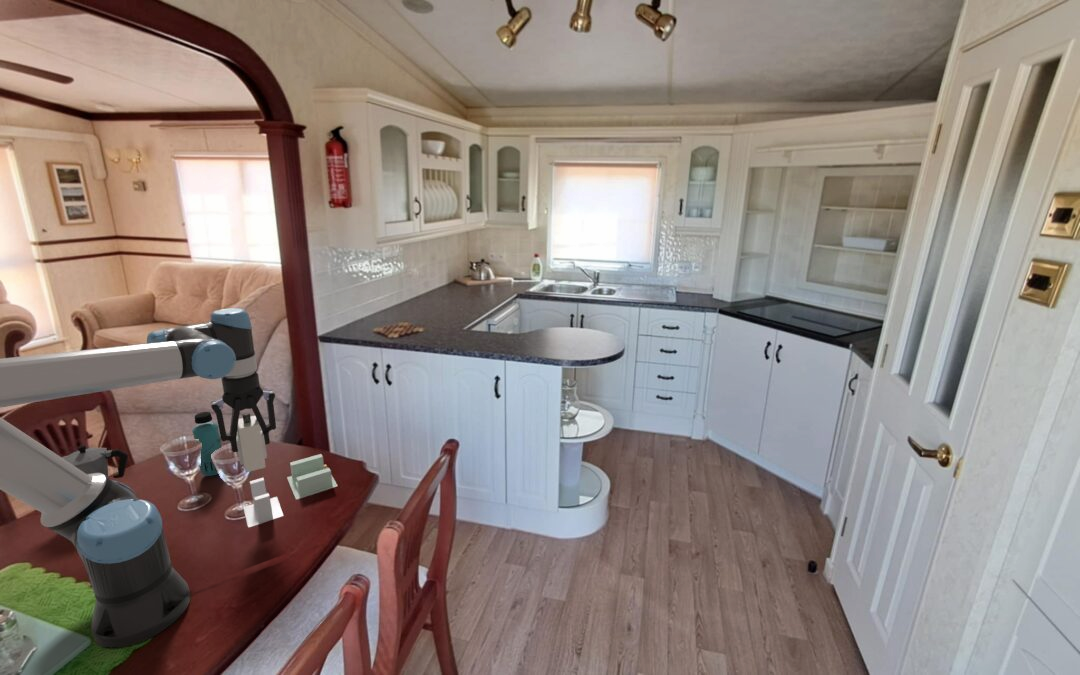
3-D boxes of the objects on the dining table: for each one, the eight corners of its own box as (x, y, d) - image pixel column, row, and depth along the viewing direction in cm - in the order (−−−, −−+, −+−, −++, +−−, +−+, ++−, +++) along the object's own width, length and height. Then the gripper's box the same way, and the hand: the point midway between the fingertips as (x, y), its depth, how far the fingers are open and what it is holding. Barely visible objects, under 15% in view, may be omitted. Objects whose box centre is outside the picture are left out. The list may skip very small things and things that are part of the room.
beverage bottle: (203, 483, 137) (190, 421, 131) (199, 473, 142) (186, 413, 136) (229, 475, 141) (218, 414, 136) (225, 465, 146) (213, 407, 140)
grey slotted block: (284, 518, 123) (280, 492, 121) (248, 530, 119) (243, 503, 116) (277, 499, 131) (273, 474, 129) (243, 510, 126) (239, 484, 124)
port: (338, 489, 136) (336, 470, 135) (296, 502, 130) (293, 483, 128) (326, 468, 146) (324, 451, 144) (287, 480, 140) (284, 462, 138)
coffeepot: (56, 521, 120) (36, 459, 115) (76, 499, 129) (59, 441, 124) (130, 509, 125) (115, 449, 120) (145, 489, 134) (131, 432, 129)
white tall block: (265, 467, 119) (258, 416, 115) (245, 472, 117) (237, 421, 113) (262, 456, 124) (254, 408, 120) (242, 461, 121) (234, 412, 117)
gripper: (277, 362, 121) (288, 443, 128) (194, 375, 111) (210, 462, 118) (283, 370, 115) (294, 455, 122) (195, 385, 105) (213, 476, 112)
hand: (253, 458), depth 120 cm, fingers closed on white tall block, 4 cm apart
